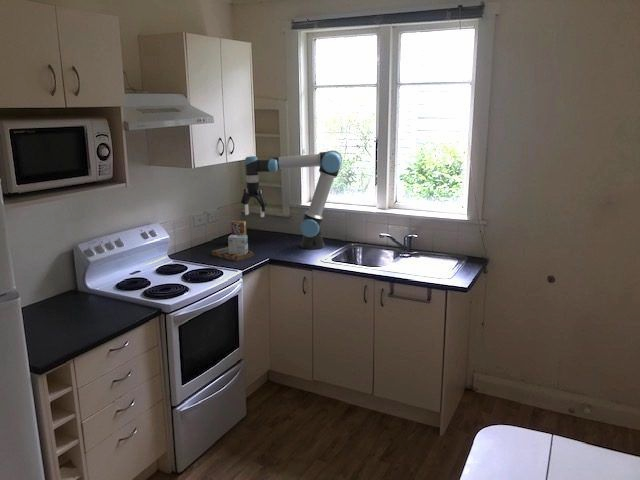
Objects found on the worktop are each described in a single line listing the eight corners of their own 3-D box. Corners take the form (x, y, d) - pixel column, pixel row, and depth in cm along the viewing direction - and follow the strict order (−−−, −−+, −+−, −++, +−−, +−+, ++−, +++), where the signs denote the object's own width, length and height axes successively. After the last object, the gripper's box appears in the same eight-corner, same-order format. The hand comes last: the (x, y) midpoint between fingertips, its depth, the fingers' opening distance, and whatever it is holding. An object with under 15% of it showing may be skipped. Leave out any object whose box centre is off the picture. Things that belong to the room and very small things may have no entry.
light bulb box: (248, 251, 340) (247, 234, 337) (245, 254, 334) (245, 237, 331) (231, 251, 341) (230, 234, 339) (228, 254, 335) (227, 237, 332)
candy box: (246, 243, 371) (246, 221, 367) (244, 244, 367) (243, 222, 363) (234, 242, 373) (233, 220, 369) (231, 244, 369) (231, 221, 365)
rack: (255, 256, 340) (255, 252, 339) (235, 261, 329) (235, 257, 328) (230, 249, 355) (230, 245, 354) (211, 254, 343) (211, 250, 343)
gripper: (234, 181, 346) (236, 214, 351) (263, 183, 331) (265, 218, 336) (242, 179, 352) (244, 212, 357) (271, 182, 336) (273, 216, 342)
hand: (254, 215), depth 346 cm, fingers open, 13 cm apart
